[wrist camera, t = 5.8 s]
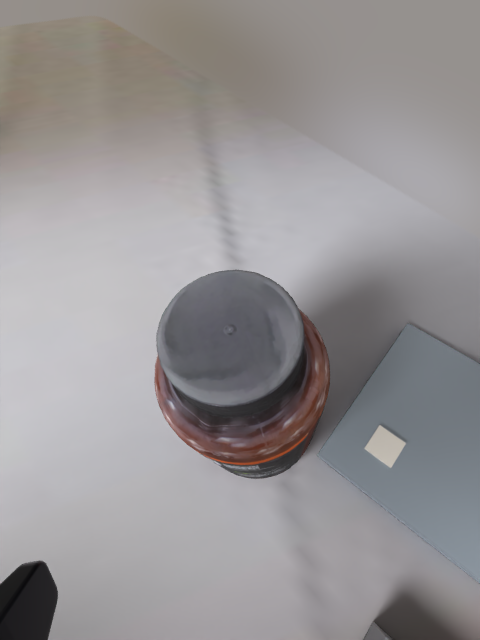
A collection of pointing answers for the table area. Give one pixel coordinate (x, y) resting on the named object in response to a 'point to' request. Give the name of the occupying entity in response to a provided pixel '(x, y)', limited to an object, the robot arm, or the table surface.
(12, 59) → the table surface
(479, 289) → the table surface
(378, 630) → the button housing
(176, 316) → the supplement bottle
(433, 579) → the table surface
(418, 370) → the two-pip tile
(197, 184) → the table surface
